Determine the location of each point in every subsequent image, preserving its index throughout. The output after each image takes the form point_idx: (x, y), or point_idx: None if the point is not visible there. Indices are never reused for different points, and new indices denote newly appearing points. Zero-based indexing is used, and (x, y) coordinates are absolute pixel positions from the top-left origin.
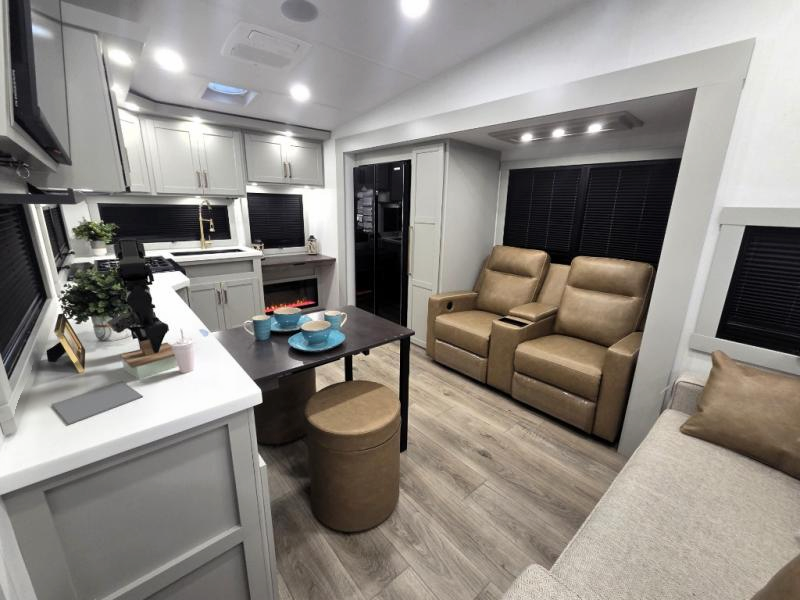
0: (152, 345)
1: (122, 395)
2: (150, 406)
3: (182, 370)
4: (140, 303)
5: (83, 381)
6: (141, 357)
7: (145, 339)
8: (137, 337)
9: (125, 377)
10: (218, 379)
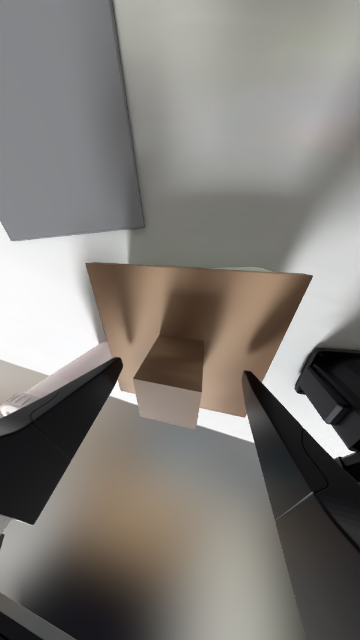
0: (67, 384)
1: (28, 196)
2: None
3: (97, 345)
4: None
5: (312, 54)
6: (157, 320)
7: (251, 417)
8: (280, 427)
9: (177, 247)
10: (45, 355)
